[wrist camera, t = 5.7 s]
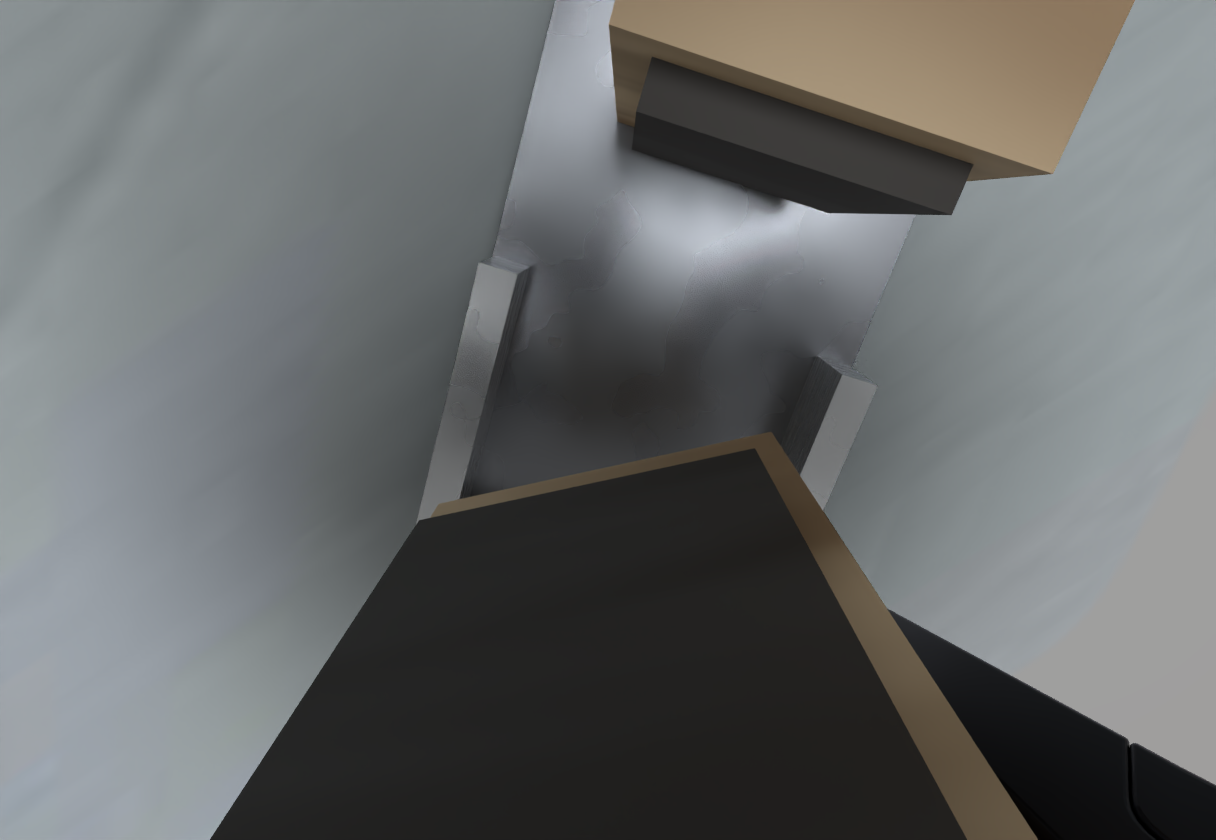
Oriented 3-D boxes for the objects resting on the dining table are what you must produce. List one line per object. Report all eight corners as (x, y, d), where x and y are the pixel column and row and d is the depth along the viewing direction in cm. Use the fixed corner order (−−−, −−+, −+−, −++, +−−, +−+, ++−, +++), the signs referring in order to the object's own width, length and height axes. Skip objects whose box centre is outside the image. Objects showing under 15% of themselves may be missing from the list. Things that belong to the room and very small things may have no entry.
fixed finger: (676, -88, 13) (744, -479, 6) (910, -7, 14) (1264, -276, 6) (609, 149, 15) (591, 85, 7) (823, 219, 15) (1026, 229, 7)
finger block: (425, 467, 10) (-219, 1316, 2) (764, 392, 10) (1326, 1138, 2) (512, 718, 11) (276, 1788, 4) (812, 663, 11) (1261, 1752, 3)
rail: (632, -265, 14) (635, -415, 11) (1028, -121, 14) (1149, -220, 11) (436, 519, 19) (397, 584, 16) (731, 602, 20) (752, 682, 16)
